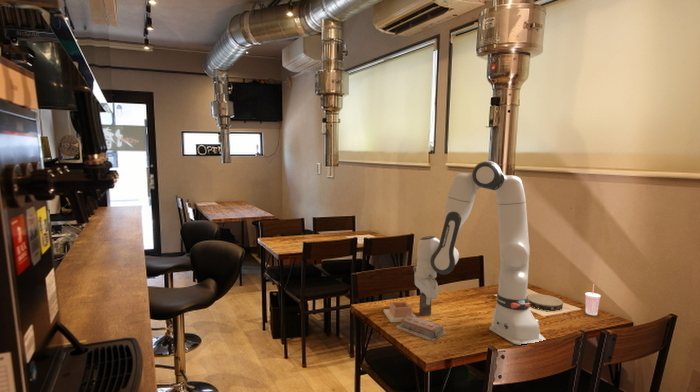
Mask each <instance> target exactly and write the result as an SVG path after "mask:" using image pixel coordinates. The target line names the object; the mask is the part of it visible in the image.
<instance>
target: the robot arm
mask: <svg viewBox="0 0 700 392" xmlns="http://www.w3.org/2000/svg"><path fill="white" fill-rule="evenodd" d="M481 188H482V189H487V190H492V191H494V192H495V198H496V208H497V221H498V242H499V243H498V244H499V245H498V246H499V248H498V249H499V257H500V265H499V274H498V291H497V294H496V303H497V304H496V306H495V308H494V310H493V315H492V321H491V325H490V326H489V327H488V328H489V331H492V332H493V333H494V334H497V335H499V336H500V337H501V338H504V339H505V340H506V341H509V342H510V343H511V344H513V345H518V346H519V345H520V346H522V345H521V344H527V343H535V342H539V341H543V340H546V341H547V339H546V338H545V337H544V336H543V335H542V334H541V333H540V322H539V319H536V318H535V317H534V315H533V313H532V311H531V309H530V307H531V306H530V305H529V304H531V303H529V301H528V297H527V296H528V284H529V283H528V282H529V265H530V253H531V251H530V249H531V248H530V247H531V246H530V242H529V241H530V240H529V226H528V223H529V222H528V213H527V200H526V192H525V187H524V185H523V181H522V179H521V178H520V177H518V176H517V175H509V174H504V173H503V171H502V168H501V166H499V164H498V163H496V162H494V161H492V160H484V161H480V162H479V163H477V164H476V165H475V166H474V168H473V170H472V172H471V173H468V172H467V173H466V172H461V173H458V174H456V175H455V176H454V177H453V179H452V182H451V184H450V187H449V189H448V194H447V198H446V203H445V204H446V205H445V214H444V222H443V223H444V224H443V229H442V232H441V236H440V239H439V238H437V237H436V236H435V235H434V236H433V235H428V236H423V237H421V238H420V239H419V240H418V243H417V249H416V250H417V252H416V258H417V261H416V262H417V263H416V266H413V272H414V285H415V286H416V287H417V288H418V289H419V294H420V293H424V294H425V295H426V297H427V298H426V300H425V303H426V304H427V305H430V301H431V302H432V300H437V299H438V298H439V284H438V282H437V280H436V278H437V273H438V274H439V275H448V274H450V273H452V272H453V270H454V269H455V266H457V264H458V261H459V260H460V253H459V250H458V248H456V247H455V246H456V244H457V239H458V234H459V233H460V230H461V228H462V226H463V225H464V223H465V222H466V221H467V219H468V218H469V216H470V214H471V212H472V209H473V206H474V203H475V198H476V194H477V192H478V190H479V189H481Z"/></svg>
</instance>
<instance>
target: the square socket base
mask: <svg viewBox="0 0 700 392" xmlns="http://www.w3.org/2000/svg"><path fill="white" fill-rule="evenodd" d="M383 313H384V315H385V316H386V318H387V319H388V321H389V322H390V323H402V322H401V321H402V319H403V318H405V317H406V315H413V316H416V314H415V313H414V312H413V311H412V306H411V305H410V304H409V303H408V302H407V301H394V302H392V301H391V302H389V308H386V309H385V308H384V309H383Z"/></svg>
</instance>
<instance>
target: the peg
mask: <svg viewBox="0 0 700 392" xmlns="http://www.w3.org/2000/svg"><path fill="white" fill-rule="evenodd" d="M426 298H427V297H426V295H425V294H424V293H420V292H419V312H418V313H419V314H420V315H421V316H422V317H428V316H431V315H432V300H431V301H430V305H427V304H426V303H425V300H426Z"/></svg>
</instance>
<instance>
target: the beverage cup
mask: <svg viewBox="0 0 700 392" xmlns="http://www.w3.org/2000/svg"><path fill="white" fill-rule="evenodd" d="M594 290H595V283H593V284H592V292H591V291H590V292H585V293H584V295H585V314H587V315H590V316H598V313H599V305H600V299H601V296H602V295H601V294H599V293H595V292H594Z"/></svg>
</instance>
